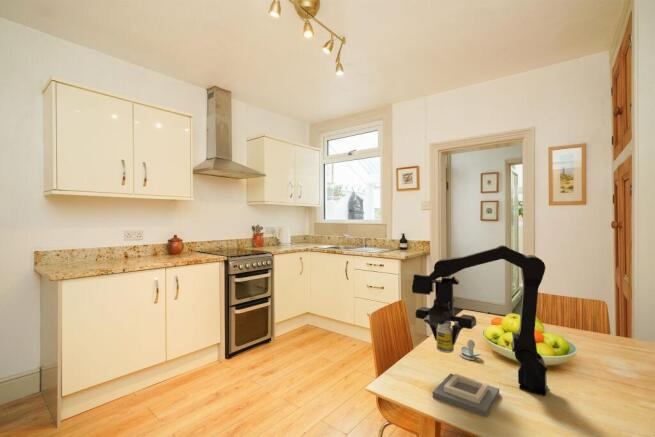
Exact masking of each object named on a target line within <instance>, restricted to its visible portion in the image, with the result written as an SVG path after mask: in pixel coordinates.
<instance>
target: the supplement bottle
mask: <svg viewBox="0 0 655 437" xmlns="http://www.w3.org/2000/svg"><path fill="white" fill-rule="evenodd" d="M436 331H437V341H436V350H438V351H439V352H440V353H445V354H451V353H453V352H454V348H455V347H454V346H455V345H453V343H452V337H453V329H452V321H445V323H444V324H442V325H440V324H438V327H437V330H436Z"/></svg>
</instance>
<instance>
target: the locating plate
mask: <svg viewBox="0 0 655 437" xmlns="http://www.w3.org/2000/svg"><path fill="white" fill-rule="evenodd" d="M499 396H500V388H498V387H495V386H492V385H489V384H488V383H487V382H483V381H480V380H476V379H474V378H470V377H466V376H464V375H460V374H458V373H452V372H451V373H449V374H448V375H447V376H446V377H445V378H444V380H443V381H442V382H441V383H440V384H439V385H438V386H436V388H435V389H434V390H433V391H432V398H434V399H438V400H440V401H442V402H445V403H447V404H450V405H453V406H455V407H458V408H461V409H463V410H466V411H468V412H471V413H474V414H477V415H479V416H482V417H485V418H487V416H488V414H489V413H490V411H491V409H492V407H493V406H494V404H495V403H496V400H497V399H498V397H499Z"/></svg>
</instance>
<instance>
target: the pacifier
mask: <svg viewBox="0 0 655 437" xmlns="http://www.w3.org/2000/svg"><path fill="white" fill-rule="evenodd" d="M466 342H467V343H466V344H467V346H462V347H461V348H460V351H461V352H458V353H459V356H460V357H462V358H463V359H466V360H468V361H475V360H476V357H478V356H481V353H475V352H474V348H475V347H476V344H475V343H476V342H475V341H474V340H473V339H468V341H466Z"/></svg>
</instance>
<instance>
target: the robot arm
mask: <svg viewBox="0 0 655 437" xmlns="http://www.w3.org/2000/svg"><path fill="white" fill-rule="evenodd" d="M499 260H504V261H507V262H508V263H510V264H513V265H514V266H516V267H519V268H520V274H521V280H522V292H521V304H520V315H519V325H518V326H519V327H518V331H517V333H516V332H514V331H513V332H512V333H511V334H512V341H511V342H510V346H511V347H510V348H511V352H512V353H514V357H515V359H516V360H517V361H518V362H519V363H520V366H519V368H518V369H517V383H518V384H519V385H518V388H519V389H520V390H523V391H526V392H531V393H534V394H537V395H540V396H543V397H545V396H547V392H548V388H549V386H548V385H547V371H548V368H547V365H546V363H545V361H544V357H543V356H542V355H541V354H540V353H539V352H538V349H537V348H538V347H537V341H536V336H535V335H536V334H535V331H536V322H537V321H536V320H537V309H538V297H539V296H538V294H539V289H540V288H539V287H540V285H541V283H542V281H543V277H544V276H545V273H546V264H545V262H544V261H543V260H542V259H541V258H539V257H537V256H536V255H533V254H528V255H525V254H523V253H521V252H518V251H516V250H514V249H512V248H509V247H508V246H506V245H499V246H496V247H494V248H490V249H486V250H483V251H479V252H475V253H471V254H467V255H464V256H459V257H458V256H457V257H445V258H443V257H442V258H440V259H439V260H438V261H436V262H435V264H434V265H433V269H434V270H433V271H432V272H431V273H430V274H429V275H428V274H426V275H425V274H419V273H414V274H413V278H412V284H411V290H412V294H416V295H428V296H430V295H431V293H435V296H434V297H435V299H433V305H432V307H427V306H421V307H419V308H417V309H416V310H415V314H414V315H415V318H416V319H420V320H423V322H424V323H427V324H428V325H429V328H430V329H431V331H432V334H433V337H434V340H435V341H436V342H437V331H436V330H437V327H438V326H439V324H440V325H442V324H444V323H445V321H451V322H454V324H453V325H451V328H452V329H453V337H452V343H453V345H454V346H455V345H456V342H457V340H458V337H459V335H460V333H461V330H463V329H467V330H469V329H470V330H472V329H473V328H474V327H475V326H477V318H476V317H475V316H474V315H470V314H465V313H464V314H462V315H460V316H457V315H455V314H456V311H455V309H454V307H455V306H454V303H455V302H456V301H455V298H454V285H456V286H457V285H459V284H460V281H459V279H457V278H456V277H455V275H454V274H457V273H458V272H460V271H463V270H465V269H468V268H472V267H475V266H479V265H483V264H487V263H491V262H496V261H499ZM452 275H453V276H452ZM450 276H452V277H451V278H450ZM439 278H441V279H439Z"/></svg>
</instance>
